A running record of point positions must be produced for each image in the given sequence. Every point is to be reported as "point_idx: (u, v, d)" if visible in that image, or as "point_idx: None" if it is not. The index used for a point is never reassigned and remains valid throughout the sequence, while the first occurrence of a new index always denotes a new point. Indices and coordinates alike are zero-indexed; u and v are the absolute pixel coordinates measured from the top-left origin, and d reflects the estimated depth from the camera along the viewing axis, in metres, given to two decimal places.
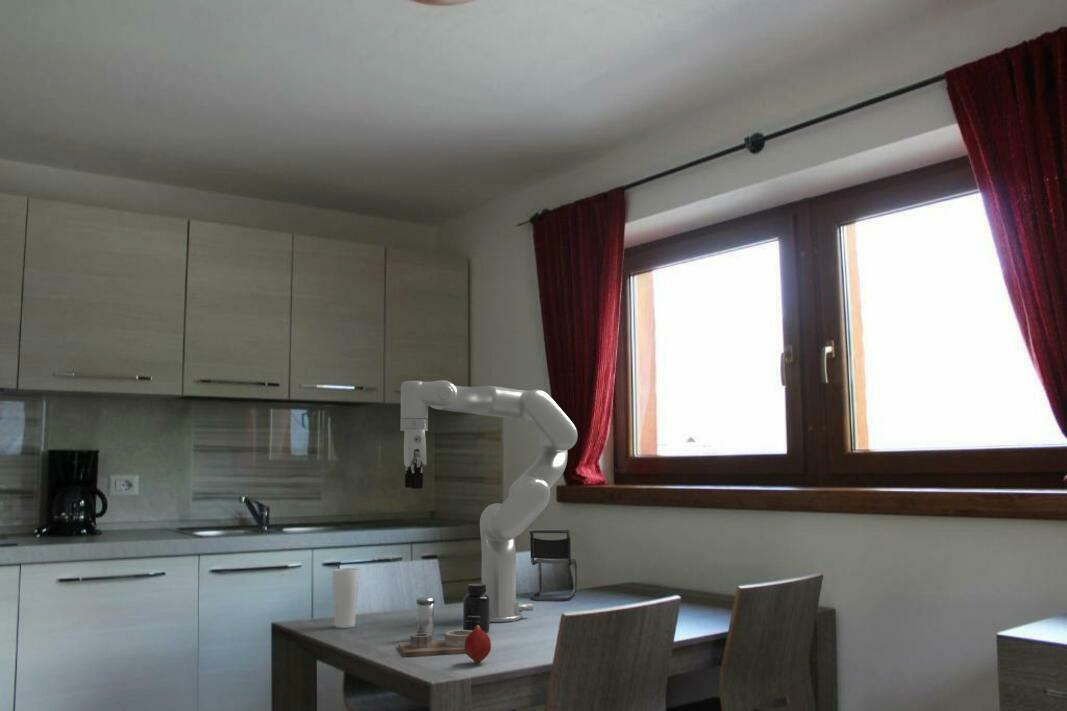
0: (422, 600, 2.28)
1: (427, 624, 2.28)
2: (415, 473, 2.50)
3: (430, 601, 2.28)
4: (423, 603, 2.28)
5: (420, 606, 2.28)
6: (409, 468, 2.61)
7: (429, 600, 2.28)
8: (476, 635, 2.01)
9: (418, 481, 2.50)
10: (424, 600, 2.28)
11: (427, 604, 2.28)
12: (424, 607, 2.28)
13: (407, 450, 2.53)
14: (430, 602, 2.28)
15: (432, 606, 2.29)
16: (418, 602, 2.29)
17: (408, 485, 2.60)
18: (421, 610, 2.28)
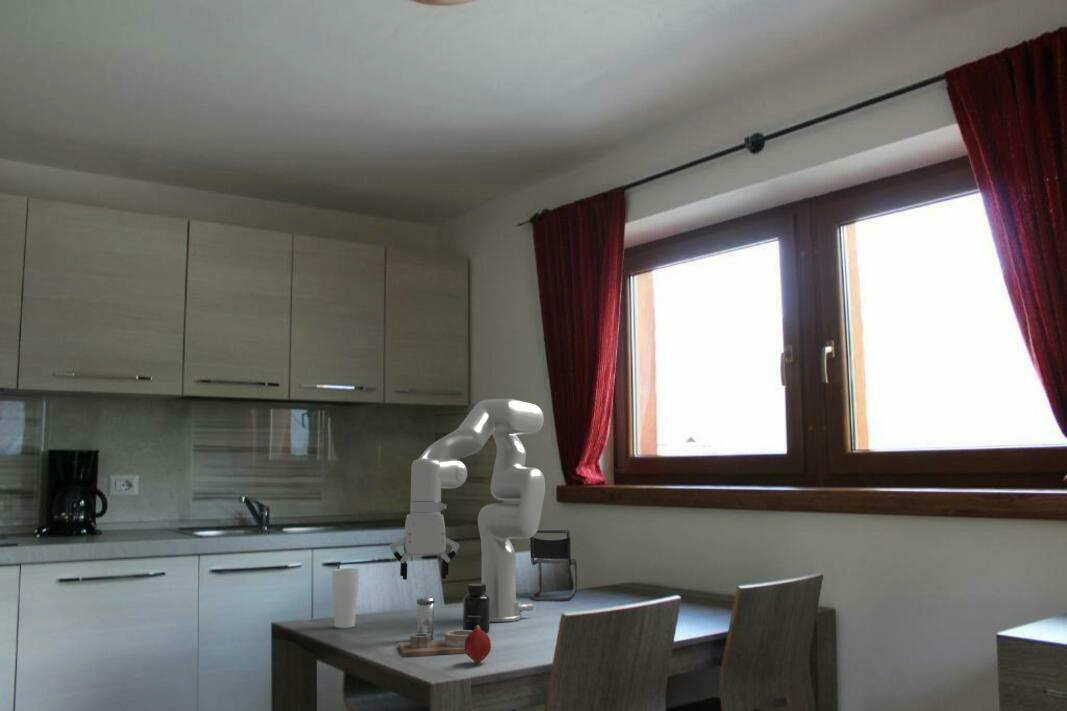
0: (422, 600, 2.28)
1: (427, 624, 2.28)
2: (448, 561, 2.32)
3: (430, 601, 2.28)
4: (423, 603, 2.28)
5: (420, 606, 2.28)
6: (402, 557, 2.29)
7: (429, 600, 2.28)
8: (476, 635, 2.01)
9: None
10: (424, 600, 2.28)
11: (427, 604, 2.28)
12: (424, 607, 2.28)
13: (438, 537, 2.30)
14: (430, 602, 2.28)
15: (432, 606, 2.29)
16: (418, 602, 2.29)
17: (406, 577, 2.28)
18: (421, 610, 2.28)
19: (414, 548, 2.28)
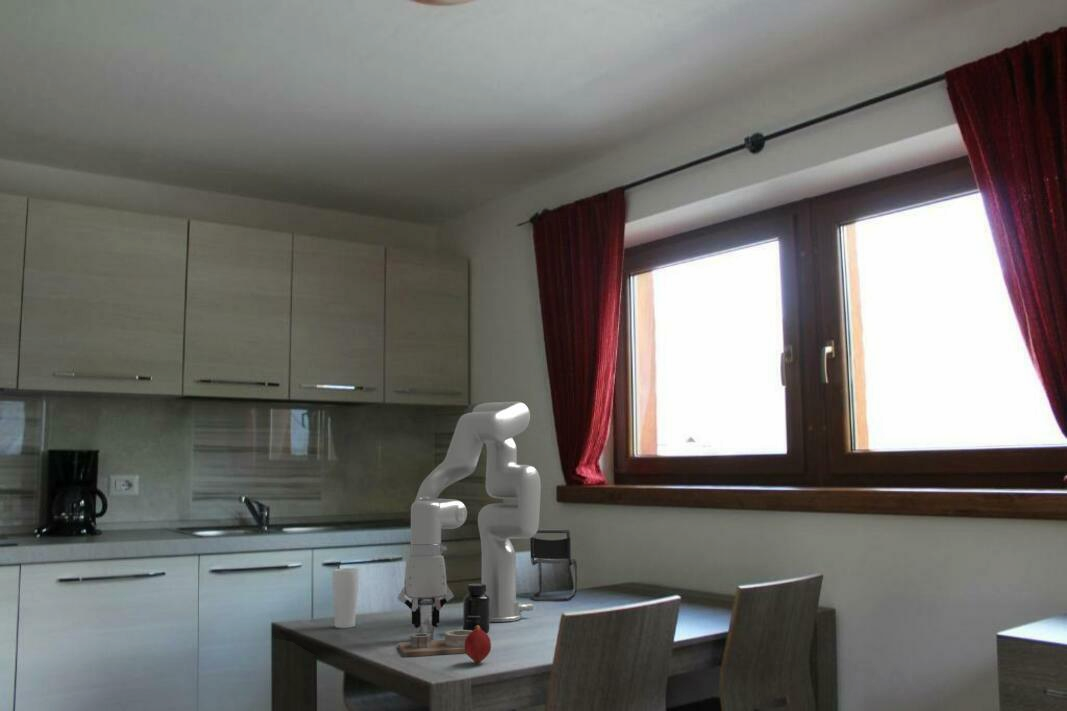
0: (422, 600, 2.28)
1: (427, 624, 2.28)
2: (439, 609, 2.30)
3: (430, 601, 2.28)
4: (423, 603, 2.28)
5: (420, 606, 2.28)
6: None
7: (429, 600, 2.28)
8: (476, 635, 2.01)
9: None
10: (424, 600, 2.28)
11: (427, 604, 2.28)
12: (424, 607, 2.28)
13: (439, 579, 2.29)
14: (430, 602, 2.28)
15: (432, 606, 2.29)
16: (418, 602, 2.29)
17: None
18: (421, 610, 2.28)
19: (415, 592, 2.28)
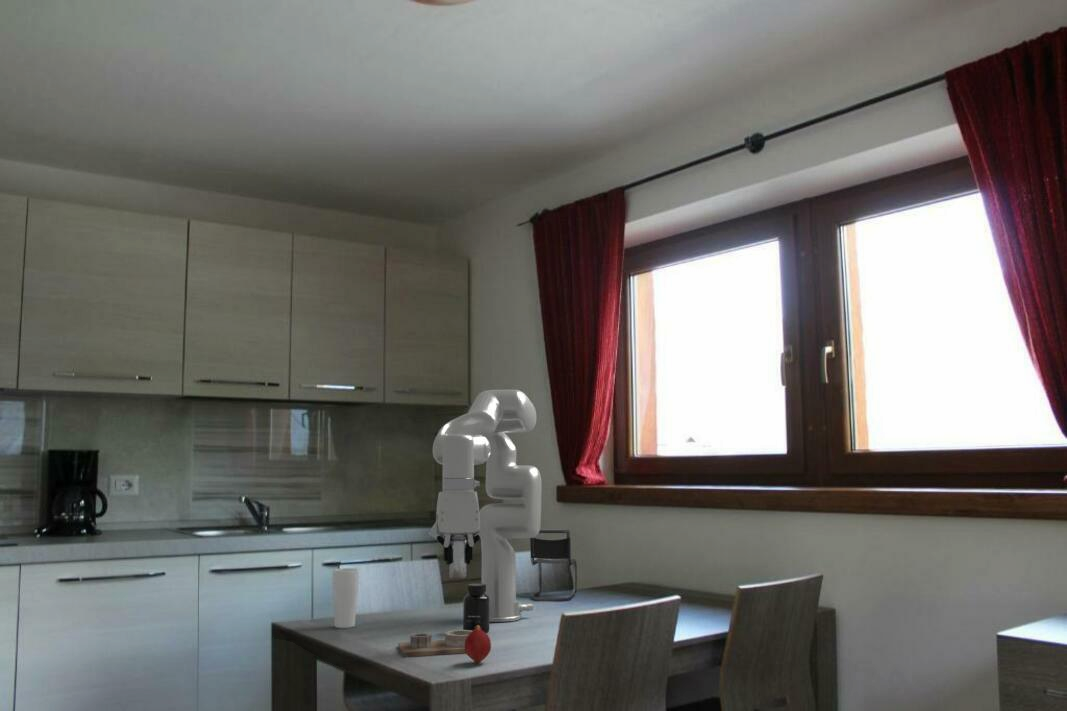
0: (454, 536, 2.20)
1: (460, 560, 2.19)
2: (472, 546, 2.22)
3: (463, 537, 2.20)
4: (456, 539, 2.20)
5: (452, 542, 2.20)
6: None
7: (462, 536, 2.20)
8: (476, 635, 2.01)
9: None
10: (457, 536, 2.20)
11: (460, 540, 2.20)
12: (457, 543, 2.20)
13: (472, 515, 2.21)
14: (463, 538, 2.20)
15: (465, 542, 2.21)
16: (450, 538, 2.20)
17: None
18: (453, 546, 2.20)
19: (447, 527, 2.19)
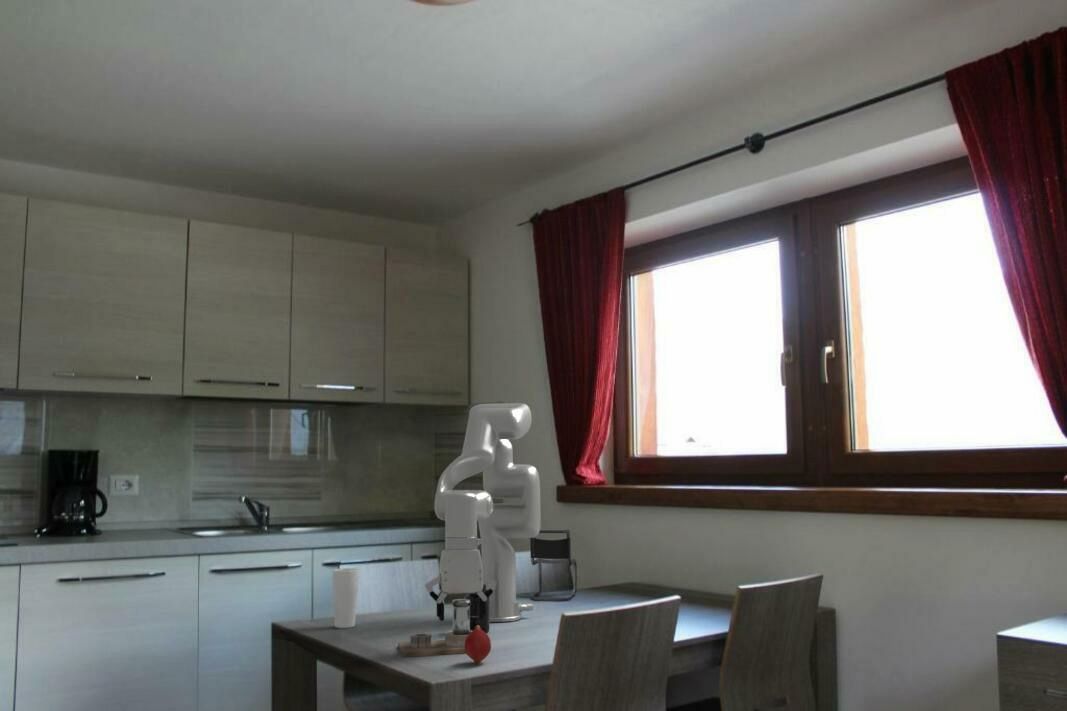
0: (458, 602, 2.18)
1: (463, 627, 2.17)
2: None
3: (466, 603, 2.18)
4: (459, 605, 2.17)
5: (456, 608, 2.18)
6: None
7: (465, 602, 2.18)
8: (476, 635, 2.01)
9: None
10: (460, 602, 2.17)
11: (463, 606, 2.17)
12: (460, 609, 2.17)
13: (475, 574, 2.19)
14: (466, 604, 2.18)
15: (468, 608, 2.19)
16: (454, 604, 2.18)
17: None
18: (457, 612, 2.17)
19: (450, 587, 2.17)
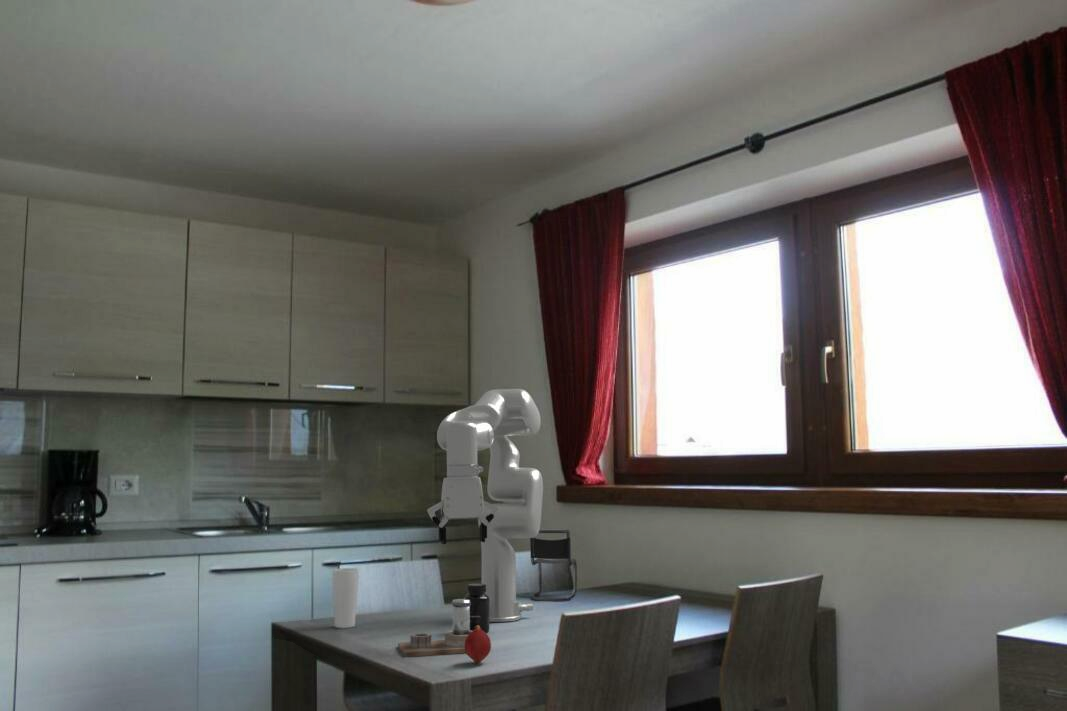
0: (458, 602, 2.17)
1: (463, 627, 2.17)
2: None
3: (466, 603, 2.18)
4: (459, 605, 2.17)
5: (456, 608, 2.18)
6: None
7: (465, 602, 2.18)
8: (476, 635, 2.01)
9: None
10: (460, 602, 2.17)
11: (463, 606, 2.17)
12: (460, 609, 2.17)
13: (476, 500, 2.27)
14: (466, 604, 2.18)
15: (468, 608, 2.19)
16: (454, 604, 2.18)
17: None
18: (457, 613, 2.17)
19: (452, 512, 2.25)
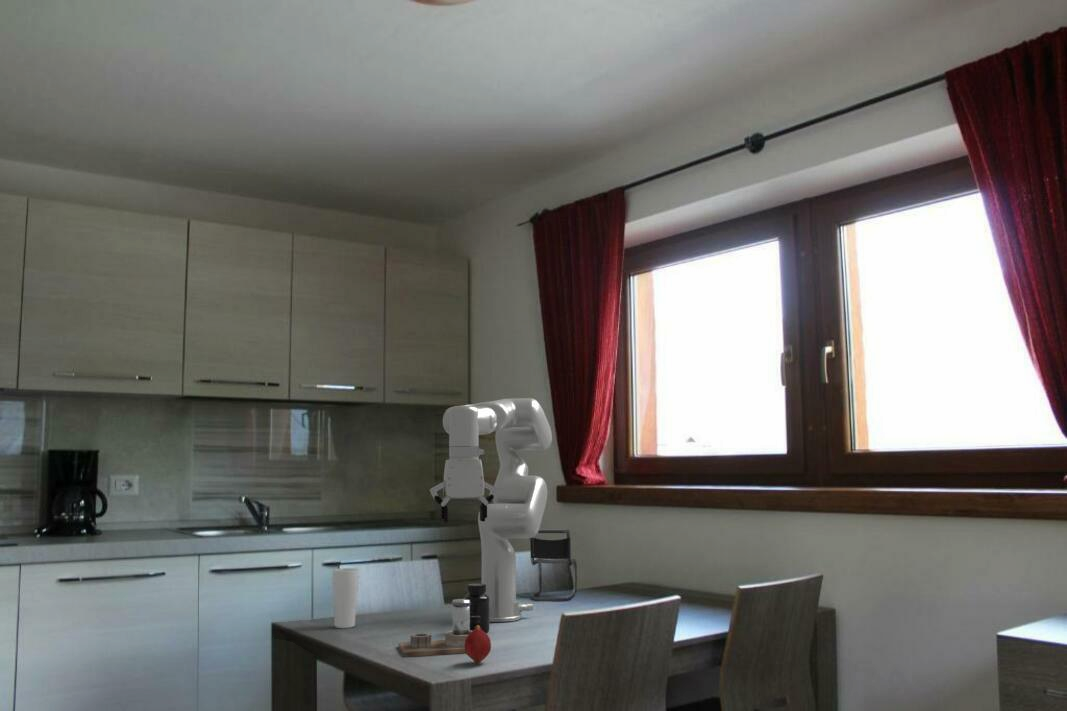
0: (458, 602, 2.17)
1: (463, 627, 2.17)
2: None
3: (466, 603, 2.18)
4: (459, 605, 2.17)
5: (456, 608, 2.18)
6: None
7: (465, 602, 2.18)
8: (476, 635, 2.01)
9: None
10: (460, 602, 2.17)
11: (463, 606, 2.17)
12: (460, 609, 2.17)
13: (477, 481, 2.36)
14: (466, 604, 2.18)
15: (468, 608, 2.18)
16: (454, 604, 2.18)
17: None
18: (457, 613, 2.17)
19: (454, 492, 2.35)
